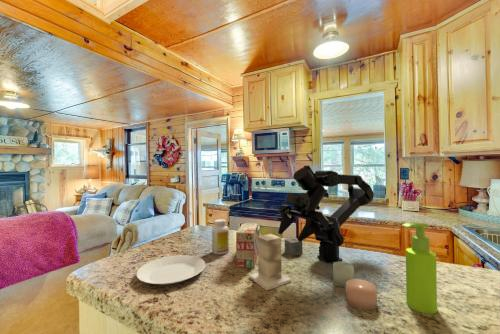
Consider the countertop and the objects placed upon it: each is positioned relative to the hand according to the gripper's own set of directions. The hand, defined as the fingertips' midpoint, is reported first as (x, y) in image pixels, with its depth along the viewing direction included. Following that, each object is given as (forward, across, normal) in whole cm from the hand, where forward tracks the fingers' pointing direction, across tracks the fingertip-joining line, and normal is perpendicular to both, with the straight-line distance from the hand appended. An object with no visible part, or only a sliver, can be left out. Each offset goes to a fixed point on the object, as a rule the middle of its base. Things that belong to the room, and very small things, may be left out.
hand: (288, 237), depth 73 cm
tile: (+14, 0, +2) cm, 14 cm away
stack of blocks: (+10, -19, +6) cm, 23 cm away
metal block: (+13, 0, +2) cm, 13 cm away
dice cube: (-1, -12, +18) cm, 22 cm away
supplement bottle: (+16, -29, 0) cm, 33 cm away
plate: (+30, -20, -14) cm, 39 cm away
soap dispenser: (-2, +30, +19) cm, 36 cm away
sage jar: (+2, +13, +15) cm, 20 cm away
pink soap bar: (+5, +22, +12) cm, 25 cm away
